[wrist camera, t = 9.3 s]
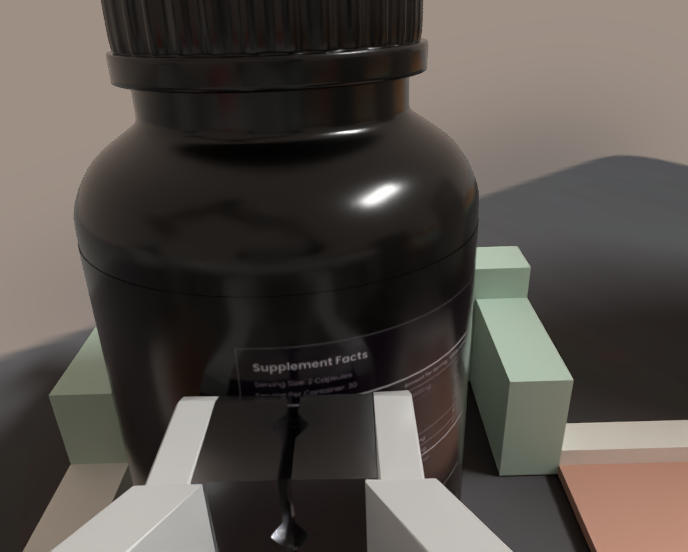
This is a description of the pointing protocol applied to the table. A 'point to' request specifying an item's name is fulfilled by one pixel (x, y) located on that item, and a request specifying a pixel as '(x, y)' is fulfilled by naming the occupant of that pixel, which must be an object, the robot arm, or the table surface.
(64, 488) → the trap lane
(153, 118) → the supplement bottle
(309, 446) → the robot arm
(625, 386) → the table surface
